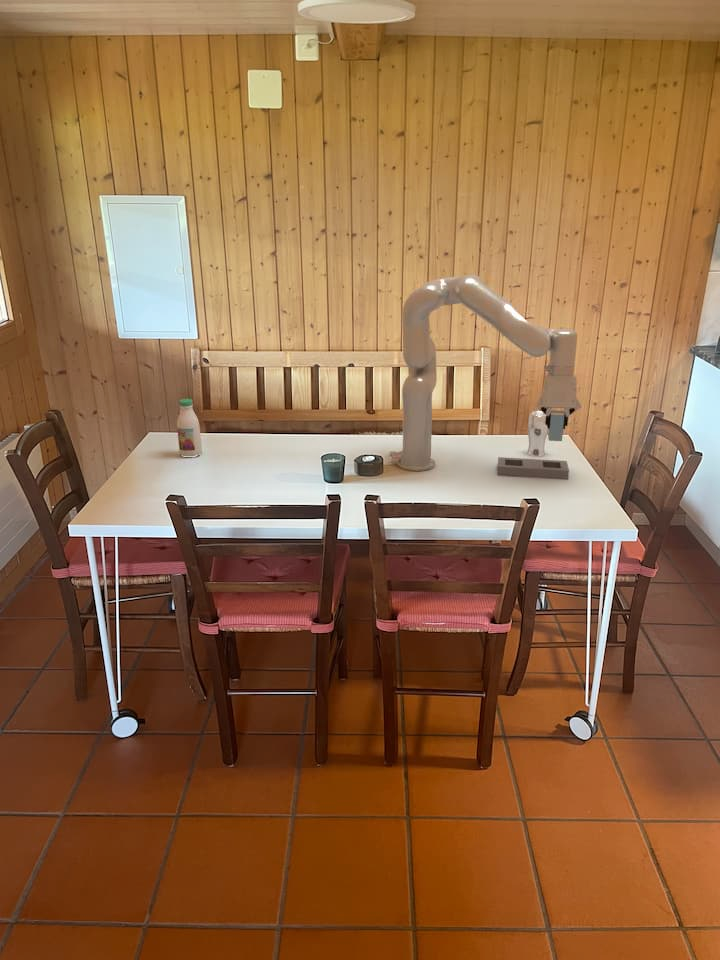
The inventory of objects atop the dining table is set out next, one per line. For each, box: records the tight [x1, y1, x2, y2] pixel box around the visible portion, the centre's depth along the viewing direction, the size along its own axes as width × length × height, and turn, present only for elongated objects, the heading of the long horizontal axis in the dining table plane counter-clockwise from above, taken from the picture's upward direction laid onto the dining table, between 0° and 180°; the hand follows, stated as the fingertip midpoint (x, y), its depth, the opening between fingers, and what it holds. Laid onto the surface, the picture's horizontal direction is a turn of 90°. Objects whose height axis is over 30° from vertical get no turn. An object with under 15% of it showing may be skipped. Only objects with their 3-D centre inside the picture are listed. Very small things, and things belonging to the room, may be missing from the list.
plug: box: [547, 409, 565, 442], centre depth 219 cm, size 4×4×9 cm
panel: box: [496, 456, 570, 480], centre depth 226 cm, size 22×9×4 cm, turn 79°
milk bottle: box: [176, 398, 203, 456], centre depth 243 cm, size 8×8×20 cm
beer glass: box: [526, 410, 549, 458], centre depth 241 cm, size 7×7×15 cm
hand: (556, 427), depth 219 cm, fingers closed on plug, 4 cm apart
